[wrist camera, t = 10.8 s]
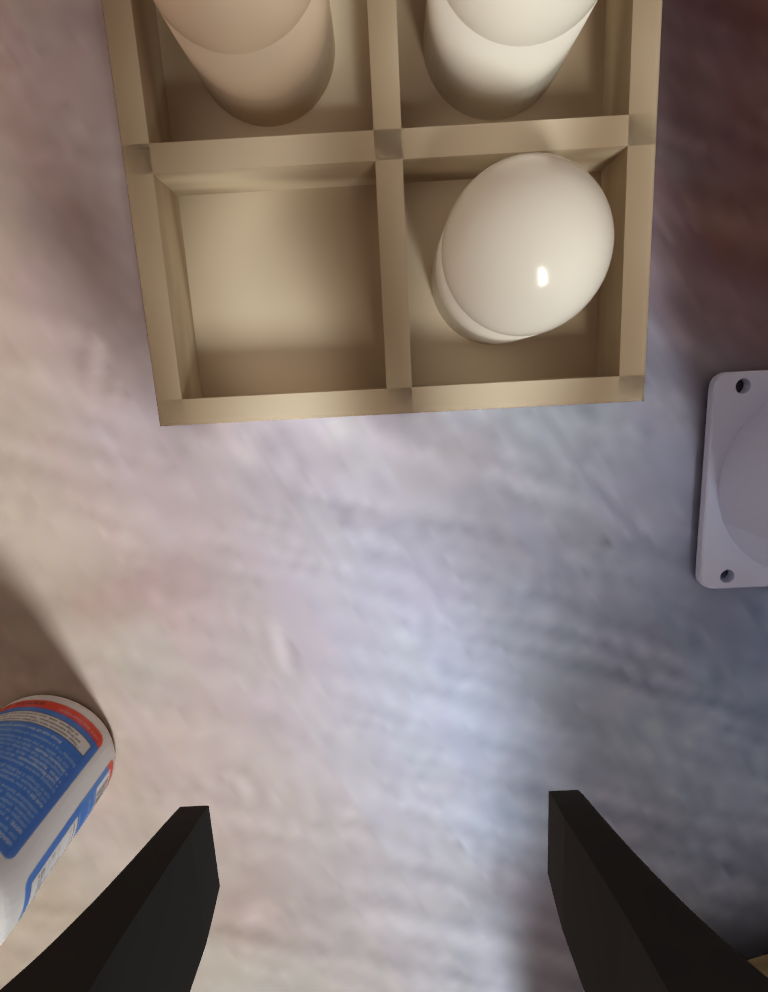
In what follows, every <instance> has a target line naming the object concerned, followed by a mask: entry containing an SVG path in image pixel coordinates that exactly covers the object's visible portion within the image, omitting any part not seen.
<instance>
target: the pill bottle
mask: <svg viewBox="0 0 768 992" xmlns="http://www.w3.org/2000/svg"><path fill="white" fill-rule="evenodd" d="M114 764H115V750H114V745H113V741H112V738H111V736H110V734H109V732H108V730H107V728H106V727H105V725H104V724H103V722H102V721H101V720H100V719H99V718H98V717H97V716H96V715H95V714H94V713H93V712H91V711H90V710H88V709H87V708H86V707H84V706H82V705H80V704H79V703H77V702H74V701H72V700H69V699H66V698H62V697H58V696H53V695H34V696H28V697H24V698H21V699H18V700H16V701H13V702H11V703H10V704H8V705H6V706H5V707H3V708H2V709H1V710H0V946H1V945H2V943H3V942H4V941H5V939H6V938H7V936H8V935H9V933H10V932H11V931H12V929H13V928H14V926H15V925H16V924H17V922H18V921H19V919H20V918H21V916H22V915H23V913H24V912H25V910H26V909H27V907H28V906H29V904H30V903H31V901H32V900H33V898H34V897H35V895H36V894H37V892H38V890H39V889H40V887H41V886H42V884H43V883H44V881H45V880H46V878H47V877H48V875H49V874H50V873H51V871H52V870H53V868H54V866H55V865H56V863H57V862H58V860H59V859H60V857H61V856H62V854H63V853H64V851H65V850H66V848H67V847H68V845H69V844H70V842H71V841H72V839H73V838H74V836H75V835H76V833H77V832H78V830H79V829H80V827H81V826H82V824H83V823H84V821H85V820H86V818H87V817H88V815H89V814H90V812H91V811H92V809H93V807H94V806H95V804H96V803H97V801H98V800H99V798H100V797H101V795H102V794H103V792H104V790H105V789H106V787H107V785H108V783H109V781H110V778H111V776H112V773H113V769H114Z"/></svg>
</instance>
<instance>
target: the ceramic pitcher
mask: <svg viewBox="0 0 768 992" xmlns="http://www.w3.org/2000/svg"><path fill="white" fill-rule="evenodd" d="M747 961H748V962H750V963H751V964H752V965H753V966H754V967H755V968H757V969H758V970H759V971H760V972H762V973H763V974H764V975H765V976H767V977H768V954H766V955H762V956H759V957H755V958H752V959H749V960H747Z"/></svg>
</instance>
